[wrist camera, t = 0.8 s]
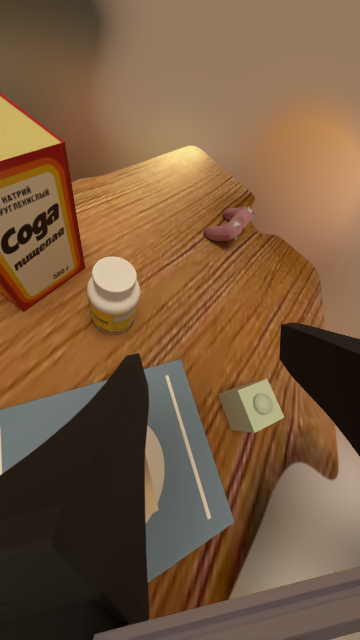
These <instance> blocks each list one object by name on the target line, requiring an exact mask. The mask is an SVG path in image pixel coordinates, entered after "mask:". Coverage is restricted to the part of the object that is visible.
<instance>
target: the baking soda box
mask: <svg viewBox="0 0 360 640" xmlns="http://www.w3.org/2000/svg"><path fill="white" fill-rule="evenodd" d="M83 269H85V265H84V259H83V252H82V246H81V240H80V234H79V228H78V221H77V215H76V209H75V203H74V197H73V191H72V184H71V178H70V173H69V166H68V160H67V153H66V147H65V142H64V141H63V140H62V139H60V138H59V137H58V136H56V135H55V134H54V133H52V132H51V131H50V130H49V129H47V128H46V127H45V126H43V125H42V124H41V123H40V122H38V121H37V120H36V119H34V118H33V117H32V116H31V115H29V114H28V113H27V112H25V111H24V110H22V109H21V108H20V107H19V106H18V105H16V104H15V103H14V102H12V101H11V100H10V99H8V98H7V97H6V96H5V95H3V94H2V93H1V92H0V293H1V294H2V295H3V296H5V297H6V298H7V299H8V300H10V301H11V302H12V303H13V304H15V305H16V306H17V307H18V308H20V309H21V310H22V311H23V312H24V311H26V310H27V309H29V308H30V307H31V306H33V305H34V304H36V303H37V302H38V301H40V300H41V299H43V298H44V297H45V296H47V295H48V294H50V293H51V292H52V291H54V290H55V289H57V288H58V287H59V286H61V285H62V284H64V283H65V282H66V281H68V280H69V279H71V278H72V277H73V276H75V275H76V274H78V273H79V272H80V271H82V270H83Z"/></svg>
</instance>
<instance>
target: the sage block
mask: <svg viewBox="0 0 360 640" xmlns="http://www.w3.org/2000/svg"><path fill="white" fill-rule="evenodd" d="M218 396H219V398H220V401H221V404H222V407H223V409H224V412H225V415H226V417H227V420H228V423H229V426H230V428H231V430H235V431H244V432H253V433H255V432H257V431H259V430H261V429H263V428H265V427H267V426H269V425H271V424H273V423H274V422H276V421H278V420H280V419H282V418H284V415H283V413H282V411H281V409H280V406H279V404H278V402H277V400H276V398H275V395H274V393H273V391H272V389H271V386H270V384H269V382H268V380H267V379H264V380H260V381H256V382H251V383H247V384H243V385H241V386H238V387H236V388H233V389H230V390H228V391H225V392H223V393H220V394H218Z"/></svg>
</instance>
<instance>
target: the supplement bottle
mask: <svg viewBox="0 0 360 640" xmlns="http://www.w3.org/2000/svg"><path fill="white" fill-rule="evenodd" d="M136 278H137V276H136V271H135V269H134V267H133V266H132V265H131V264H130V263H129V262H128V261H126V260H124V259H122V258H119V257H106V258H103V259H101V260H99V261H98V262H97V263H96V264H95V265H94V267H93V270H92V277H91V278H90V280H89V282H88V286H87V295H88V300H89V305H90V310H91V315H92V320H93V322H94V324H95V326H96V327H97V328H98V329H99V330H101V331H103V332H105V333H108V334H119V333H122V332H124V331H126V330H127V329H128V328H130V326H131V325H132V323H133V321H134V318H135V314H136V310H137V306H138V302H139V298H140V287H139V284H138V282H137V280H136Z"/></svg>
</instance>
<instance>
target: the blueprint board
mask: <svg viewBox="0 0 360 640" xmlns="http://www.w3.org/2000/svg"><path fill="white" fill-rule="evenodd" d="M144 372H145V376H146V379H147V383H148V389H149V413H148V425H147V436H146V448H145V523H146V554H147V578H148V583H149V582H150V581H151V580H153V579H154V578H156V577H157V576H159V575H160V574H161V573H163V572H164V571H166V570H167V569H168V568H170V567H171V566H173V565H174V564H176V563H177V562H178V561H180V560H181V559H183V558H184V557H185V556H187V555H188V554H190V553H191V552H193V551H194V550H195V549H197V548H198V547H200V546H201V545H202V544H204V543H205V542H207V541H208V540H210V539H211V538H212V537H214V536H215V535H217V534H218V533H219V532H221V531H222V530H224V529H225V528H227V527H228V526H229V525H231V524H232V523H234V519H233V516H232V513H231V510H230V507H229V504H228V501H227V498H226V495H225V492H224V489H223V486H222V483H221V480H220V477H219V474H218V471H217V468H216V465H215V462H214V459H213V456H212V453H211V450H210V447H209V444H208V441H207V437H206V434H205V431H204V428H203V425H202V422H201V419H200V416H199V413H198V410H197V407H196V404H195V401H194V398H193V395H192V392H191V389H190V386H189V383H188V380H187V377H186V374H185V371H184V368H183V365H182V362H181V359H180V360H176V361H173V362H169V363H166V364H162V365H159V366H155V367H152V368H148V369H144ZM106 382H107V380H105V381H102V382H98V383H95V384H91V385H88V386H84V387H81V388H77V389H74V390H70V391H66V392H63V393H59V394H56V395H52V396H49V397H45V398H42V399H38V400H35V401H31V402H27V403H24V404H20V405H17V406H13V407H10V408H6V409H3V410H0V475H1V474H3V473H4V472H5V471H7V470H8V469H10V468H11V467H12V466H14V465H15V464H16V463H18V462H19V461H20V460H22V459H23V458H25V457H26V456H27V455H29V454H30V453H31V452H32V451H34V450H35V449H36V448H38V447H39V446H40V445H41V444H43V443H44V442H45V441H46V440H48V439H49V438H50V437H51V436H52V435H53V434H55V433H56V432H57V431H58V430H59V429H60V428H62V427H63V426H64V425H65V424H66V423H68V422H69V421H70V420H71V419H72V418H73V417H74V416H75V415H76V414H77V413H78V412H79V411H80V410H81V409H82V408H83V407H84V406H85V405H86V404H87V403H88V402H89V401H90V400H91V399H92V398H93V397H94V396H95V394H96V393H97V392H98V391H99V390H100V389H101V388H102V386H103V385H104V384H105V383H106Z"/></svg>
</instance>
